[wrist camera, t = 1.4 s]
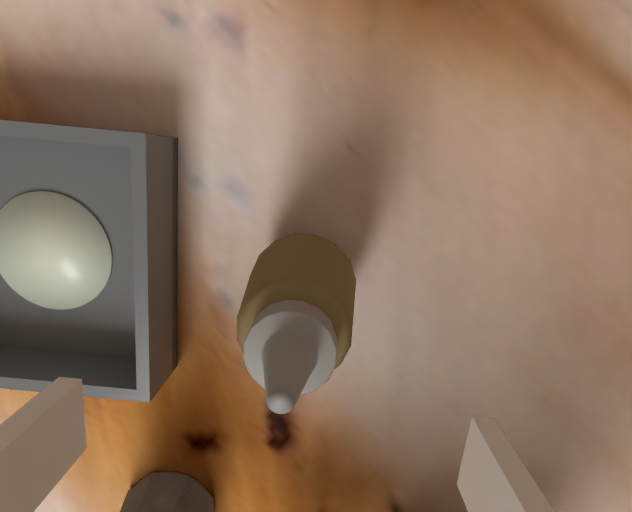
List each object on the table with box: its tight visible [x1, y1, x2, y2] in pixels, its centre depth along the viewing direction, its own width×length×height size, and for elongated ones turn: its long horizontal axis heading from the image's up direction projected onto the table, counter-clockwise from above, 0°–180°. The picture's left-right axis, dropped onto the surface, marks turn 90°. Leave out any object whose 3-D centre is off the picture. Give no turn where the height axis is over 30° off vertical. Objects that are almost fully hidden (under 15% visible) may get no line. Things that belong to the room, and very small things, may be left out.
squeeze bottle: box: [237, 234, 356, 414], centre depth 24 cm, size 8×8×18 cm
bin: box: [0, 120, 178, 403], centre depth 30 cm, size 20×20×6 cm
